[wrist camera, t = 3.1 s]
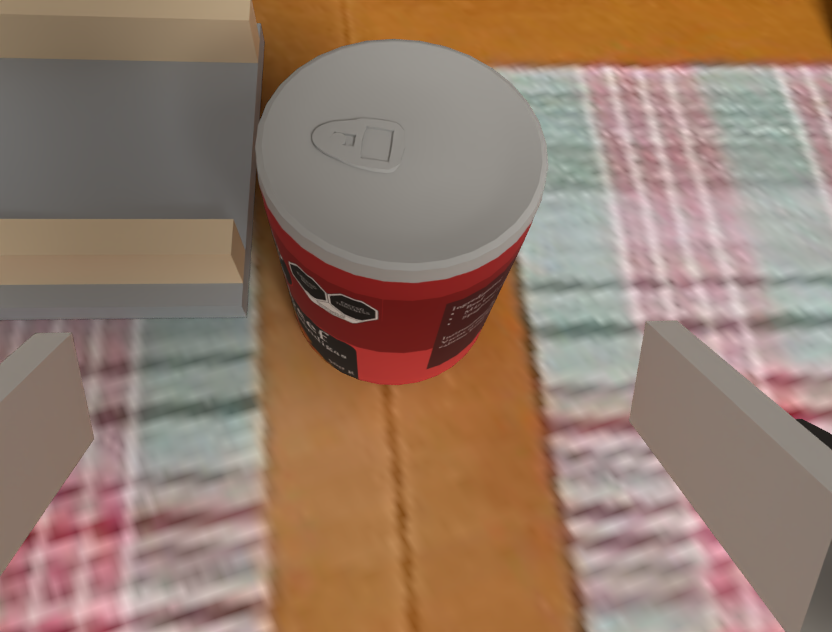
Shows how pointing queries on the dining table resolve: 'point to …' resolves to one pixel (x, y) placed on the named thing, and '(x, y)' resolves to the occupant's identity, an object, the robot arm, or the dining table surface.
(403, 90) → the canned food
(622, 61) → the dining table surface
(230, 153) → the track
